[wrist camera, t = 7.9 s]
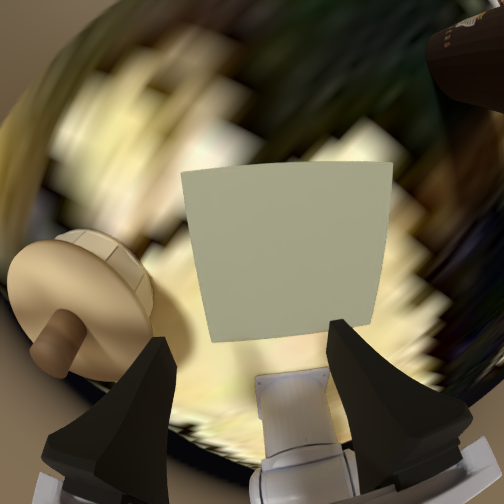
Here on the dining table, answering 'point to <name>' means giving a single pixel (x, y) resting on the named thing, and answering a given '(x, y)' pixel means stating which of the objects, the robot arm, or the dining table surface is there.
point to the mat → (287, 245)
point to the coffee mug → (471, 60)
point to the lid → (76, 311)
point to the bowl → (115, 260)
